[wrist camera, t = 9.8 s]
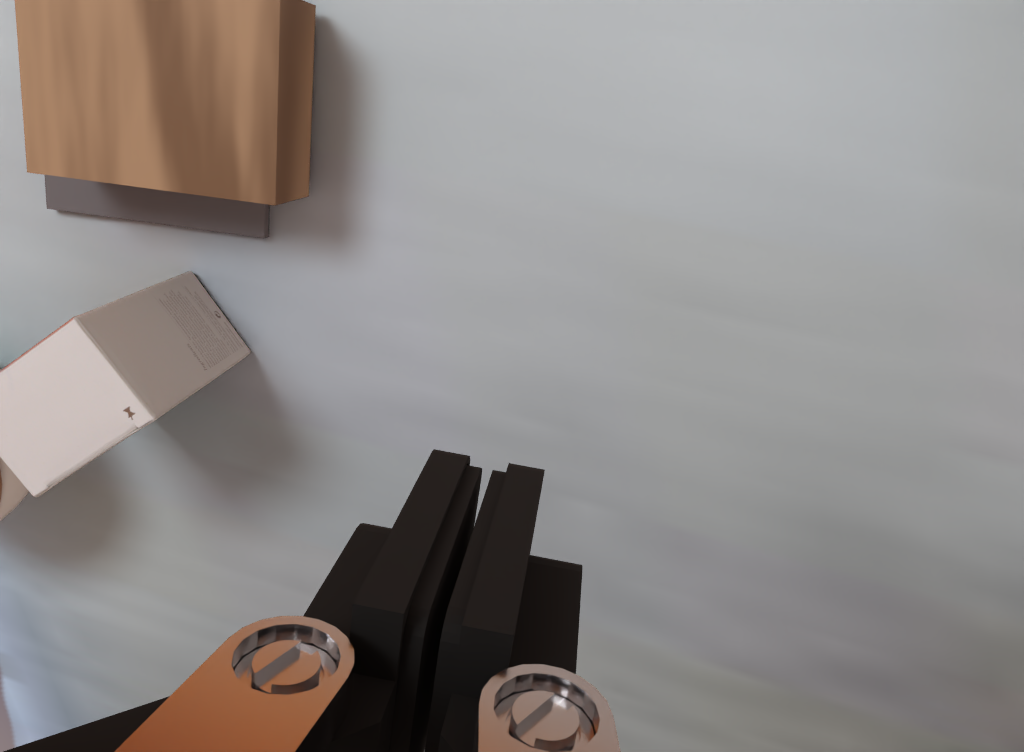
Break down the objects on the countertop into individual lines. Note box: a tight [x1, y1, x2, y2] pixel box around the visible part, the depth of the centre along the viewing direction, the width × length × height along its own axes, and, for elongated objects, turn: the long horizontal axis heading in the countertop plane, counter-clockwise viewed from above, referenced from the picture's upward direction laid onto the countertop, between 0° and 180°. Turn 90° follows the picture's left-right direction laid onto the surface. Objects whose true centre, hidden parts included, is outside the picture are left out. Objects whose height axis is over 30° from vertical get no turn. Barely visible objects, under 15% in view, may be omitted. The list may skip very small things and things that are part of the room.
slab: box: [15, 0, 316, 205], centre depth 38 cm, size 5×9×12 cm
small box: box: [0, 271, 251, 497], centre depth 41 cm, size 8×6×10 cm
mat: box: [45, 175, 269, 238], centre depth 41 cm, size 12×14×1 cm
